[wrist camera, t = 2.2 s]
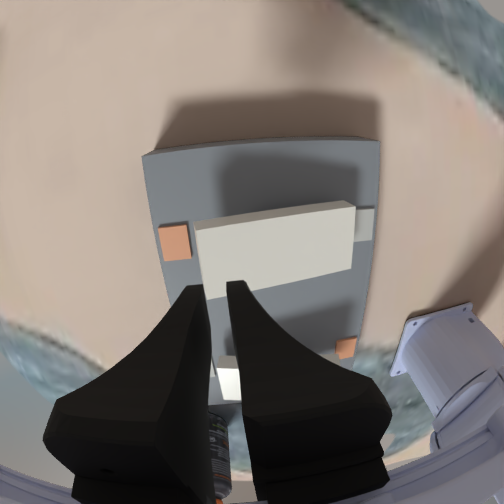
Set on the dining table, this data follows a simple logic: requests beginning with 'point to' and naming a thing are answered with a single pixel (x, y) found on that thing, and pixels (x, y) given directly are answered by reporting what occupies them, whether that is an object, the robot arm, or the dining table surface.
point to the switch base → (261, 199)
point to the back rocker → (231, 377)
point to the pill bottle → (220, 457)
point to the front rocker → (275, 246)
